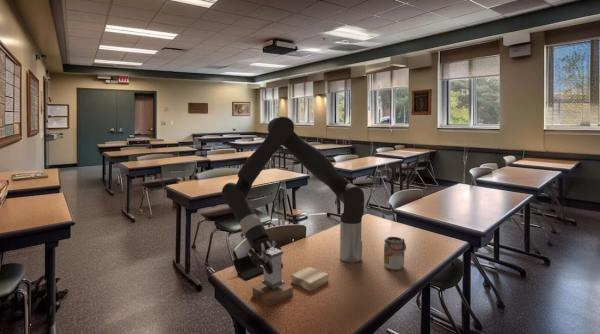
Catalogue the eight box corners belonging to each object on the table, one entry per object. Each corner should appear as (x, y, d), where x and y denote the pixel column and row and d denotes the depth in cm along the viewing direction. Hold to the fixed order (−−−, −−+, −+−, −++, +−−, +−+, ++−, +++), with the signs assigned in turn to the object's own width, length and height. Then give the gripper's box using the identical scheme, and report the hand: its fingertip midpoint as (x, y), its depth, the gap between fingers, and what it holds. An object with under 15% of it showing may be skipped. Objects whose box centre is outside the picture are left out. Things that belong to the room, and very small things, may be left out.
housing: (261, 283, 117) (260, 250, 116) (272, 278, 121) (271, 246, 119) (273, 289, 113) (272, 255, 112) (283, 283, 117) (283, 251, 115)
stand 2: (291, 282, 127) (291, 274, 127) (309, 273, 134) (309, 266, 134) (310, 291, 120) (310, 283, 120) (328, 281, 127) (328, 274, 127)
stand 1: (252, 295, 117) (252, 287, 117) (274, 285, 124) (274, 277, 124) (271, 306, 110) (271, 297, 110) (293, 294, 118) (292, 286, 117)
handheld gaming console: (249, 278, 127) (240, 253, 131) (239, 285, 131) (230, 261, 134) (270, 271, 136) (261, 249, 140) (259, 278, 140) (251, 256, 144)
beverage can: (408, 272, 134) (409, 243, 133) (387, 272, 134) (388, 244, 132) (400, 262, 144) (400, 235, 142) (380, 263, 143) (381, 236, 141)
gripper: (241, 228, 115) (265, 273, 108) (273, 219, 124) (296, 259, 118) (233, 239, 119) (255, 283, 112) (264, 230, 129) (286, 269, 122)
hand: (276, 270), depth 115 cm, fingers closed on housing, 4 cm apart
